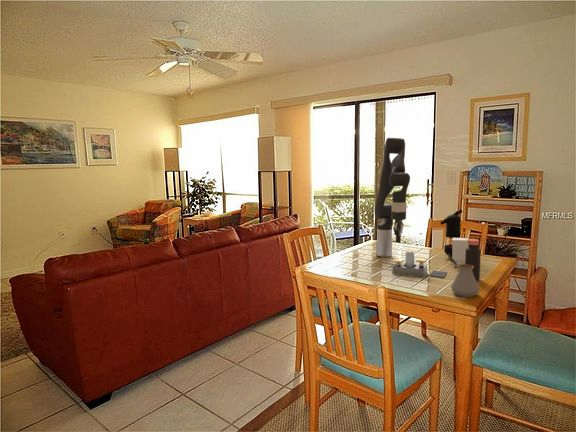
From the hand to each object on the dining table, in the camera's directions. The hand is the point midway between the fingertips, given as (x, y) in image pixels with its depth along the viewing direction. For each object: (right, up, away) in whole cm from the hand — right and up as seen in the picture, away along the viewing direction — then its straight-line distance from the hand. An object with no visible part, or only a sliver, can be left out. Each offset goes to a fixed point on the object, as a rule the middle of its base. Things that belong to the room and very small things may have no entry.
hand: (398, 242), depth 202 cm
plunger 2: (+11, -14, -4) cm, 18 cm away
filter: (+39, -12, +27) cm, 49 cm away
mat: (+20, -17, -5) cm, 26 cm away
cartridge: (+6, -16, -1) cm, 18 cm away
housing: (+6, -16, -1) cm, 18 cm away
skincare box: (+38, -14, +10) cm, 42 cm away
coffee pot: (+19, -20, -30) cm, 41 cm away
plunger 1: (+1, -14, +2) cm, 15 cm away
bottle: (+33, -18, -14) cm, 40 cm away
